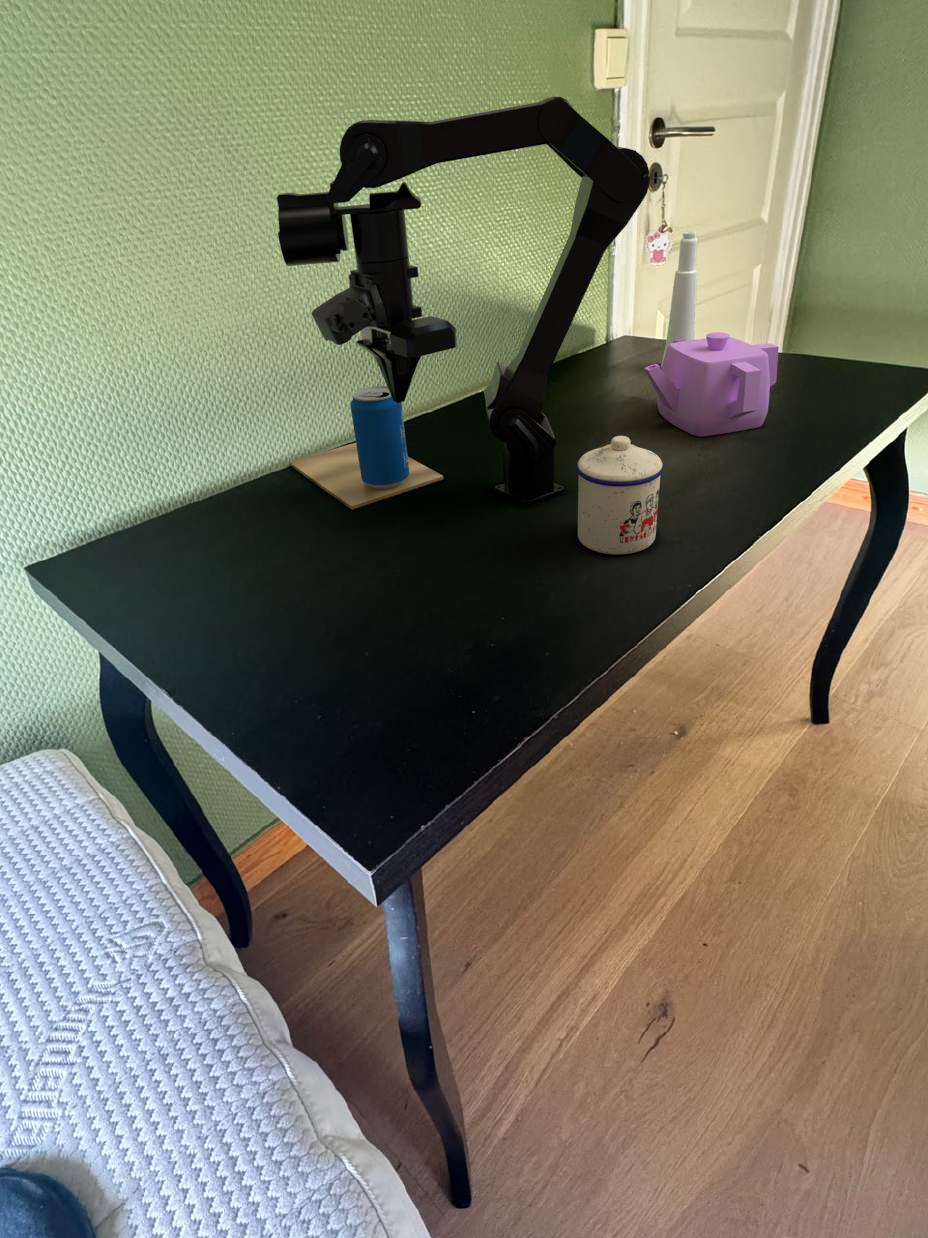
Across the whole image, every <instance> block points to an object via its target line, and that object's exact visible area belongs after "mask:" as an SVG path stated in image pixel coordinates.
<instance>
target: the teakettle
mask: <svg viewBox="0 0 928 1238" xmlns="http://www.w3.org/2000/svg"><path fill="white" fill-rule="evenodd" d="M778 363H779V346H778V345H775V344H773V343H760V344H751V343H748V342H746V341H743V340H740V339H738V338H735V337H732V336H731V335H730V334H729V333H728V332H723V331H713V332H709V333H707V334H705V338H696V339H694V340H689V341H687V340H684V339H680V340H673V343H671V344H669V345H668V348H667V351H666V354H665V358H664V361H663V365H662V368H661V365H659V364H657V363H653V364H650V365H647V366H646V367H643V370H644V372H645V373H646V375H647V377H648V379H649V381H650V383H651V385H652V387H653V388H654V391H655V392H656V404H657V410H658V412H659V414H660V415H661V416H662V417H663V418H664V419H665V420H666V421H668V422H669V423H670V424H671V425H673V426H675V427H676V428H678V429H680V430H682V431H683V432H686V433H688V434H690V435H692V436H695V437H699V438H700V437H703V438H704V437H711V436H717V435H723V434H731V433H735V432H736V433H738V432H742V431H747V430H753V429H757V428H760V427H762V426H763V425H764V422H765V420H766V417H767V415H768V413H769V404H770V392H771V391H770V389H771V387H772V386H774V385H775V384H776V383H777V377H778V366H779V365H778Z"/></svg>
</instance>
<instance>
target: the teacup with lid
mask: <svg viewBox="0 0 928 1238" xmlns="http://www.w3.org/2000/svg"><path fill="white" fill-rule="evenodd" d="M576 472H577V474H578V483H577V484H578V488H577V491H578V492H577V538H578V540H579V542H580V543H581V544H582V545H583V546H584V547H586V548H587V549H589V550H592V551H594V552H597V553H599V554H600V553H601V554H605V555H617V556H618V555H630V554H635V553H638V552H641V551H644V550H645V549H648V548H649V547H650V546H652V544H653V543H654V541H655V540H656V535H657V534H656V533H657V524H658V523H657V522H658V511H659V498H660V485H661V476H662V474H663V473H664V464H663V461H662V459H661V458H660V456H659V455H657V454H656V453H655V452H653V451H651V450H649V449H646V448H642V447H638V446H636V445H635V444H631V439H630V438H629V437H628V436H625V435H616V436H614V437H613V438H611V441H610V444H606V445H604V446H602V447H598V448H594V449H592V450H591V449H590V451H587V452H585V453H584V454H583V455H582V456H580V458H579V460H578V461H577V464H576Z"/></svg>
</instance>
